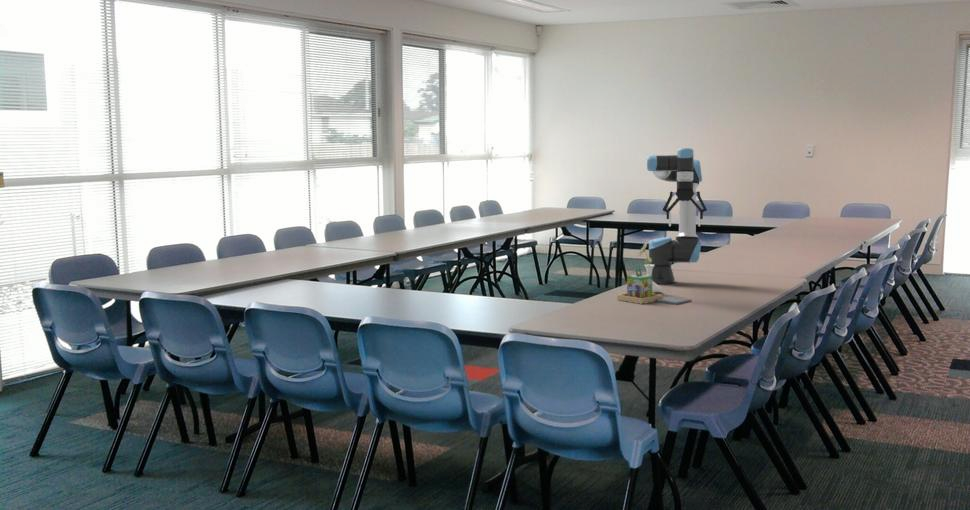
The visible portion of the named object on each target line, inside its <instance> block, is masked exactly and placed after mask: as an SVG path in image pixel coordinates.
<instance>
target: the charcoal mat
mask: <svg viewBox="0 0 970 510" xmlns="http://www.w3.org/2000/svg"><path fill="white" fill-rule="evenodd" d="M656 301H657V302H656ZM656 301H655V302H656V303H661V302H664V303H663V304H667V303H670V304H669V305H674V304H677V305H680V304H679V303H682V304H686V303H685V302H687V303H691V302H692V299H690V298H685V297H684V298H683V297H677V296H674V295H673V296H672V295H671V296H666V297H662V298H661V299H656ZM690 301H691V302H690Z"/></svg>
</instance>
